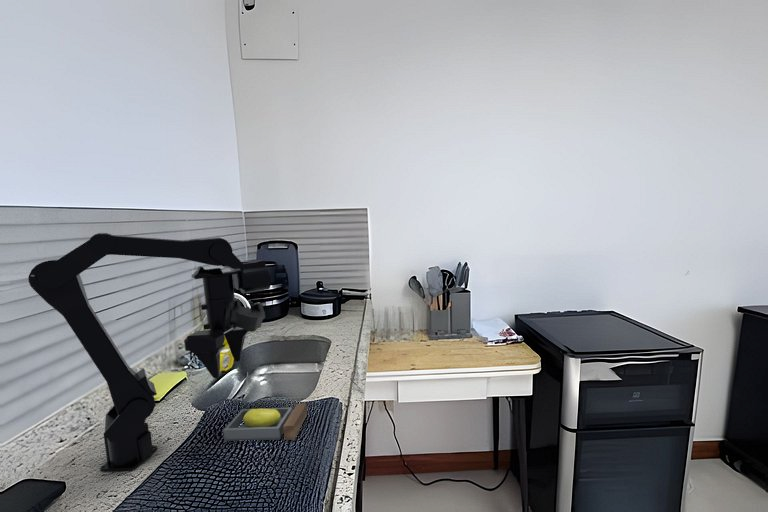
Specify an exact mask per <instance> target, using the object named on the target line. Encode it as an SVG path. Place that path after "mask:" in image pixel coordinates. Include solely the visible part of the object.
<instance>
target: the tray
mask: <svg viewBox="0 0 768 512" xmlns="http://www.w3.org/2000/svg"><path fill="white" fill-rule="evenodd" d="M251 409H252V408H242V409H241V410H240V411H239V412H238V413H237V414H236V415H235V416H234V418H233V419H232V420H231V421H230V422H229V423H228V424H227V425H226V427H225V428H224V429H223V440H224V441H236V440H280V439H281V440H282V438H283V437H282V435H283V434H284V430H283V426H284V424H285V423H286V421H287V419H288V418H289V416H290V415H291V413H292V411H293V410H294V409H293V407H269V408H268V407H267V408H266V407H265V408H263V409H275V410H277V411H278V412H279V413H280V416H281V418H280V420H279V421H278V422H277V423H276V424H274V425H271V426H269V427H249V426H247V425H245V424H242V425H240V423H241V422H242V420H243V417H244V415H245V414H246V413H247V412H248V411H249V410H251ZM239 425H240V427H239ZM283 436H284V435H283ZM281 437H282V438H281ZM281 440H280V441H281Z"/></svg>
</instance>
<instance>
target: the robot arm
mask: <svg viewBox="0 0 768 512" xmlns="http://www.w3.org/2000/svg"><path fill="white" fill-rule="evenodd" d="M110 255H111V256H112V255H113V256H117V255H118V256H133V257H148V258H149V257H150V258H167V259H168V258H169V259H181V260H185V261H190V262H194V263H200V264H204V265H208V266H209V265H210V266H217V267H215V268H209V269H208V268H206V269H205V268H204V266H197V269H196V271H195V272H194V273H193V274H191V279H195V280H200V279H202V284H203V292H204V301H205V302H204V303H203V304H201V307H200V308H201V311H205V310H206V323H204V324H203V325H202V326H203V330H196V331H195V332H193V333H191V334H189V335H187V336H186V337H185V339H184V340H183V345H184V351H185V352H189V353H190V354H194V355H195V356H196V357H197V359H198V360H199V361H200V362H201V363H202V365H203V366H204V368H205V369H206V370H207V372H209V374H210V376H211V377H212V378H213V379H218V378H220V377H221V375H220V372H221V370H220V352H221V351H222V350H224V348H225V347H226V344H224V343H225V340H226V343H227V346H228V347H229V348H228V349H229V350H230V351H231V353H232V356H233V358H234V361H235V362H240V361H241V359H242V354H243V349H244V344H245V339H246V336H247V334H248V333H249V332H252V333H253V332H256V331H257V329H260V328H262V323H263V320H264V319H265V318H266V314H265V313H266V311H264V306H263V304H261V303H258V302H256V303H254V304H253V305H251V307H250V306H242V305H241V300H240V299H239V298H236V297H235V296H236V295H235V289H236V290H237V291H238V290H239V291H240V292H241V293H242V294H248V293H254V292H262V291H267V290H269V289H271V284H272V283H271V281H272V278H271V275H270V273H269V268H268V267H267V265H266V260H264V259H263V260H262V259H259V260H255V261H249V262H242V260H240V259H239V257H237V256H236V255H235V254H234V252H233V248H232V245H231V243H230V242H229V241H228V240H227V239H224V238H222V237H210V238H197V239H195V238H194V239H182V240H181V239H167V238H158V237H157V238H156V237H143V236H133V235H132V236H131V235H118V234H111V233H108V232H97V233H95V234H93V235H92V236H91V237H89V239H88V240H87V241H85V242H83V243H82V244H80V245H78V246H77V247H76V248H74V249H73V250H71V251H69V252H67V253H66V254H64V255H63V256H61V257H60V258H59V259H51V260H50V259H49V260H47V261H42V262H40V263H38V264H36V265H35V266H34V267H33V268H32V269H31V270H30V273H28V284H29V285H30V287H31V289H32V290H33V291H34V292H35V293H36V294H37V295H39V297H40V298H41V299H43V300H44V301H45V303H46V304H48V305H49V306H50V307H52V308H53V309H54V310H55V311H57V312H58V313H59V314H60V315H61V316H62V317H63V318H64V319H65V321H66V323H67V324H68V326H69V327H70V328H71V330H72V331H73V333H74V335H75V337H77V339H78V340H79V342H80V344H81V345H82V347H83V349H84V350H85V351H86V353H87V354H88V356H89V357H90V359H91V360H92V362H93V364H94V365H95V367H96V368H97V370H98V371H99V372H100V374H101V376H102V377H103V378H104V381H106V384H107V387H108V389H109V390H108V391H109V393H110V397H111V400H112V403H113V406H112V407H111V408H110V409H109V411H107V413H105V418H104V420H105V422H104V432H103V440H104V441H103V442H104V447H105V455H106V462H105V463H104V464H103V465H102V466H100V467H99V470H100V471H101V472H102V471H103V472H107V471H108V472H111V471H112V472H113V471H114V472H115V471H133V470H136V469H137V467H139V466H140V465H141V464H142V463H144V461H145V460H146V459H148V458H149V457H150V456H151V455H152V454H153V453H154V452H156V451H157V450H158V445H153V441H152V440H153V439H152V434H151V433H152V431H150V430H149V423H148V422H146V420H147V419H148V418H149V417H150V416H151V415H152V414H153V412H154V410H155V407H156V399H155V396H157V394H158V393H157V390H156V387H155V383H154V382H152V381H151V380H150V379H149V378H148V376H147V374H146V371H145V370H146V369H145V368H141V369H140V370H138V371H137V372H136V371H135V370H134V369H132V367H130V365H129V364H128V363H127V361H126V359H125V358H124V357H123V355H122V354H121V352H120V350H119V348H118V347H117V345H116V344H115V342H114V340H113V339H112V337H111V336H110V334H109V333H108V332H107V329H106V328H105V326H104V324H103V323H102V322H101V320H100V319H99V317H98V315H97V314H96V312H95V311H94V309H93V307H92V306H91V304H90V301H89V299H88V298H89V297H88V295H87V292H86V289H85V286H84V282H83V280H82V277H81V275H80V274H81V273H83V272H84V271H85V270H88V269H89V268H90V267H91V266H93V265H94V264H96V263H97V262H98V261H100V260H101V259H103V258H105V257H106V256H110ZM219 266H221V267H223V268H227V269H233V270H230V271H222V269H221V268H220V267H219Z"/></svg>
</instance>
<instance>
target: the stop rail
mask: <svg viewBox="0 0 768 512" xmlns="http://www.w3.org/2000/svg"><path fill="white" fill-rule="evenodd" d="M307 406H308V405H307V403H306V402H305V403H301V402H300V403H296V405H295V406H294V409H292V410H293V411H292V413H291V415H290V416H289V418H288V419H287V421H286V423H285V424H284V426H283V430H284V435H283V439H284V441H285V440H295V441H296V439H297V438H296V436H297V434H298V432H299V431H300V432H301V430H300V428H301V427H302V428H303V426H302V424H303V422H304V420H305V418H306V416H307V415H308V407H307ZM304 423H305V422H304ZM303 425H304V424H303ZM302 428H301V429H302ZM300 432H299V433H300ZM298 435H299V434H298ZM297 437H298V436H297ZM295 438H296V439H295Z"/></svg>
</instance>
